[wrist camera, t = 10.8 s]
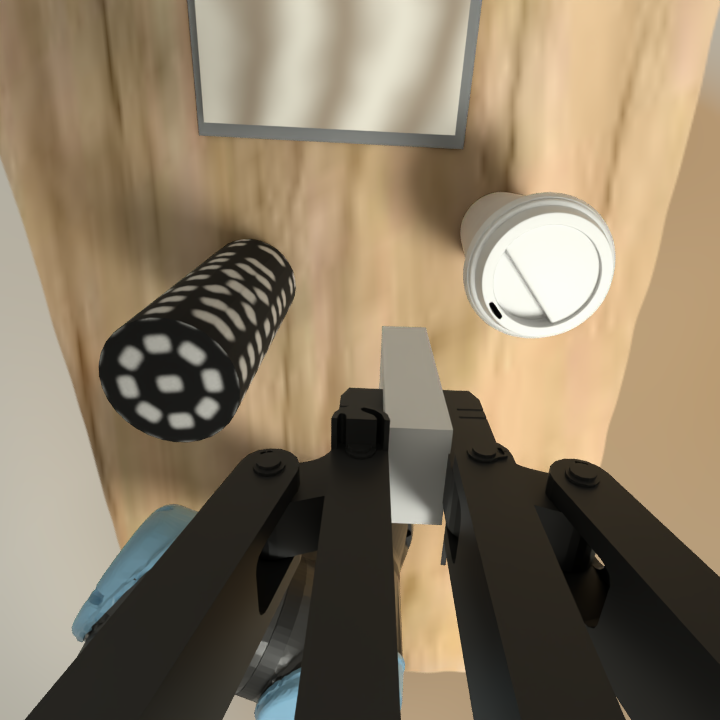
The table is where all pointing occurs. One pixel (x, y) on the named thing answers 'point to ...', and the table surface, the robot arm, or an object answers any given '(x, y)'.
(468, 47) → the underlay
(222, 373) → the spotted tube
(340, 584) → the robot arm
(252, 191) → the table surface
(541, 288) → the coffee cup
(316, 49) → the plank
